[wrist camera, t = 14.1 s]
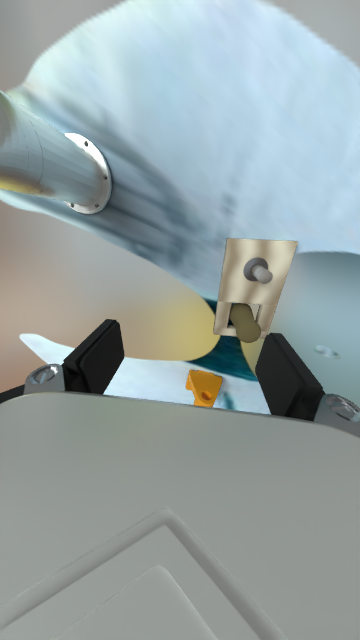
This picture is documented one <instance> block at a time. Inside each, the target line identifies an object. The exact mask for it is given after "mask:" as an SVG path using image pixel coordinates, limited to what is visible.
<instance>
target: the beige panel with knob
mask: <svg viewBox="0 0 360 640" xmlns="http://www.w3.org/2000/svg"><path fill="white" fill-rule="evenodd" d="M297 243H298V241H285V240H260V239H234V238H227V241H226V248H225V254H224V261H223V268H222V275H221V281H220V288H219V295H218V302H217V308H216V315H215V322H214V329H213V333H214V334H216V335H217V334H218V335H228V336H237V335H236V327H235V326H234V325H227V324H228V319H229V314H230V308H231V303H247V304H260V306H259V309H258V313H257V317H256V320H255V322H257V323H258V324H259V326H260V328H261V335H260V337H259V338H263V339H265V337H266V335H267V333H268V330H269V327H270V324H271V321H272V318H273V315H274V312H275V309H276V306H277V303H278V300H279V297H280V294H281V291H282V288H283V285H284V282H285V279H286V276H287V273H288V270H289V267H290V264H291V261H292V258H293V255H294V252H295V249H296V246H297Z"/></svg>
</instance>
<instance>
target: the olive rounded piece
mask: <svg viewBox="0 0 360 640" xmlns="http://www.w3.org/2000/svg"><path fill="white" fill-rule="evenodd" d="M229 318H230V320H231V321H232V323H233V324H234V326H235V327H236V335H237V337H238V338H239V339H240V340H241V341H243V342H246V343H251V342H254V341H256V340H257V339H258V338H259V337H260V335H261V328H260V326H259V324H258V323H257V322H255V321H254V317H253V313H252V310H251V308H250V306H249V305H248V304H246V303H236V304H234V305H233V306H232V307H231V308H230V314H229Z"/></svg>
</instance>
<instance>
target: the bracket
mask: <svg viewBox="0 0 360 640" xmlns="http://www.w3.org/2000/svg"><path fill="white" fill-rule="evenodd" d="M221 383H222V377H219V376H215V375H214V374H213V373H209V372H204V371H200V370H197V371H192V370H190V371H189V375H188V378H187V381H186V389H188V390H192V391H193V394H194V397H195V401H194V405H198V406H206V407H213V404H214V402H215V400H216V397H217V394H218V392H219V389H220V386H221Z"/></svg>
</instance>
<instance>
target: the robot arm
mask: <svg viewBox="0 0 360 640" xmlns="http://www.w3.org/2000/svg"><path fill="white" fill-rule="evenodd" d="M88 145H89V146H88ZM106 177H107V179H106ZM111 186H112V183H111V175H110V171H109V167H108V165H107V162H106V160H105V158H104V156H103V155H102V153H101V152H100V150H99V149H98V148H97V147H96V146H95V145H94V144H93V143H92V142H91V141H90V140H88V139H87V138H85V137H83V136H81V135H79V134H75V133H67V134H63V133H61V132H60V131H59V130H57V129H56V128H54V127H53V126H51V125H50V124H48V123H47V122H45V121H44V120H43V119H41V118H40V117H38V116H37V115H35V114H34V113H32V112H31V111H30V110H28V109H27V108H25V107H24V106H22V105H21V104H19V103H18V102H17V101H15V100H14V99H12V98H11V97H9V96H8V95H6V94H5V93H3V92H2V91H0V189H4V190H9V191H14V192H19V193H24V194H29V195H34V196H39V197H44V198H49V199H54V200H59V201H63V202H64V203H65V204H66V205H68V206H69V207H70V208H71V209H73V210H75V211H77V212H79V213H83V214H94V213H97V212H99V211H101V210H102V209H103V208H104V207H105V206H106V204H107V203H108V200H109V198H110V194H111ZM98 205H99V207H98ZM123 359H124V349H123V343H122V337H121V330H120V324H119V323H118V322H117V321H116V320H111V319H106V320H105V321H104V322H103V323H102V324H101V325H100V326H99V327H98V328H97V329H96V330H95V331H94V332H92V334H91V335H89V336H88V337H87V338H86V339H85V340H84V341H83V342H82V343H81V344H80V345H79V346H78V347H77V348H76V349H75V350H74V351H73V352H72V353H70V354H69V355H68V356H67V357H66V358H65V359H64V360H63V361H64V363H63V364H62V365H59V364H49V365H45V366H42V367H40V368H38V369H36V370H34V371H33V372H32V373H30V374H29V376H28V377H27V379H26V381H25V384H24V385H21V386H18V387H16V388H13V389H10V390H8V391H5V392H2V393H0V640H360V408H359V407H358V406H357V405H355V404H354V403H353V402H351V401H349V400H348V399H346V398H344V397H341V396H339V395H335V394H325V392H324V391H323V390H322V389H323V387H322V386H321V384H320V383H319V382H318V381H317V379H316V378H315V377H314V375H313V374H312V373H311V371H310V370H309V369H308V368H307V366H306V365H305V364H304V362H303V361H302V360H301V359H300V357H299V356H298V355H297V354H296V352H295V351H294V349H293V348H292V347H291V345H290V344H289V343H288V342H287V340H286V339H285V338H284V336H283V335H282V334H280V333H270V334H269V335H266V337H265V340H264V343H263V346H262V350H261V353H260V356H259V359H258V361H257V365H256V368H255V372H256V375H257V378H258V381H259V383H260V386H261V388H262V391H263V394H264V396H265V399H266V402H267V404H268V407H269V410H270V412H271V415H268V414H261V413H253V412H246V411H238V410H230V409H222V408H214V407H206V406H198V405H189V404H181V403H173V402H164V401H156V400H147V399H139V398H130V397H121V396H113V395H103V393H104V391H105V390H106V388H107V386H108V385H109V383H110V381H111V380H112V378H113V376H114V375H115V373H116V371H117V370H118V368H119V366H120V364H121V363H122V361H123Z"/></svg>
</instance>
